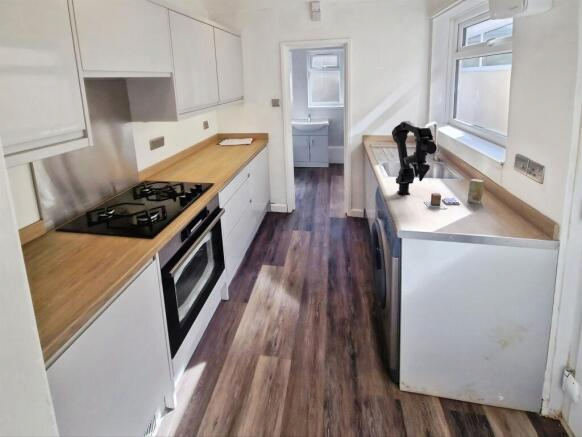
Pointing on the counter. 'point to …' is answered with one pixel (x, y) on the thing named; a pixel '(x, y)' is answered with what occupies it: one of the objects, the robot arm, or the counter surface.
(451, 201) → the tray
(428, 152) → the robot arm
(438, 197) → the stamp
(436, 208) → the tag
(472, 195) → the skincare box
